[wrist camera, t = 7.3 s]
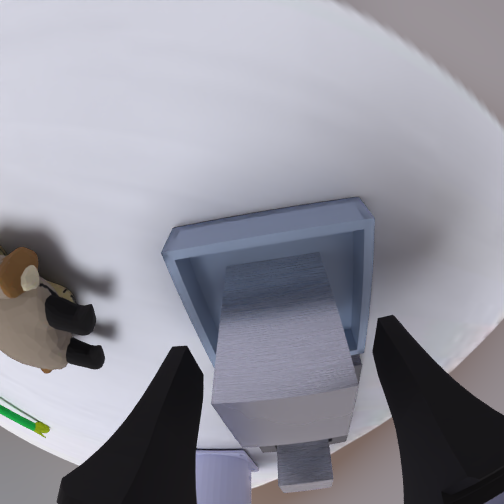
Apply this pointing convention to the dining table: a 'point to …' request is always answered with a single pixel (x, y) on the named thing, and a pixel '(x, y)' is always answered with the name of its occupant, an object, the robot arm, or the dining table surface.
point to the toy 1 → (25, 421)
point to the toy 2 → (42, 318)
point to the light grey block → (282, 355)
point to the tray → (272, 247)
